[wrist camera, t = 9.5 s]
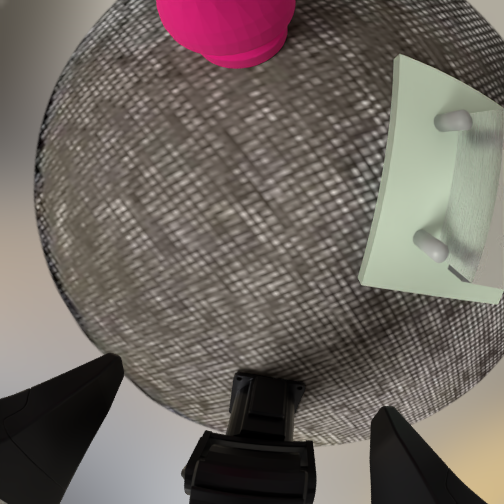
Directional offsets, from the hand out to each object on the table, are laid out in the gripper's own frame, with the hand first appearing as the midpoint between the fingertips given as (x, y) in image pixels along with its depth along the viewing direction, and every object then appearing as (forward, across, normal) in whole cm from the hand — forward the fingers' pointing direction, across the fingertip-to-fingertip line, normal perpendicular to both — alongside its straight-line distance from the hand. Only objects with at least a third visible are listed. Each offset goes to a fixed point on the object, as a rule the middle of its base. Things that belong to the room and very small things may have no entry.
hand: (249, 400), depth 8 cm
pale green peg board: (+12, -14, -8) cm, 20 cm away
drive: (+11, -13, -8) cm, 19 cm away
